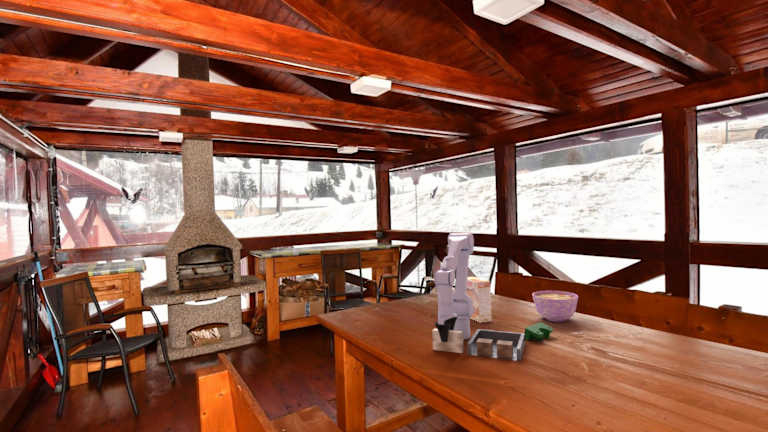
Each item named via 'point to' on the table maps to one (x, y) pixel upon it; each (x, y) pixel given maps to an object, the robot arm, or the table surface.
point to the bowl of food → (555, 304)
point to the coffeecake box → (480, 299)
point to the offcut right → (504, 349)
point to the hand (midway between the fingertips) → (447, 338)
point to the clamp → (538, 332)
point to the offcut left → (485, 346)
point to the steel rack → (514, 337)
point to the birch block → (453, 341)
